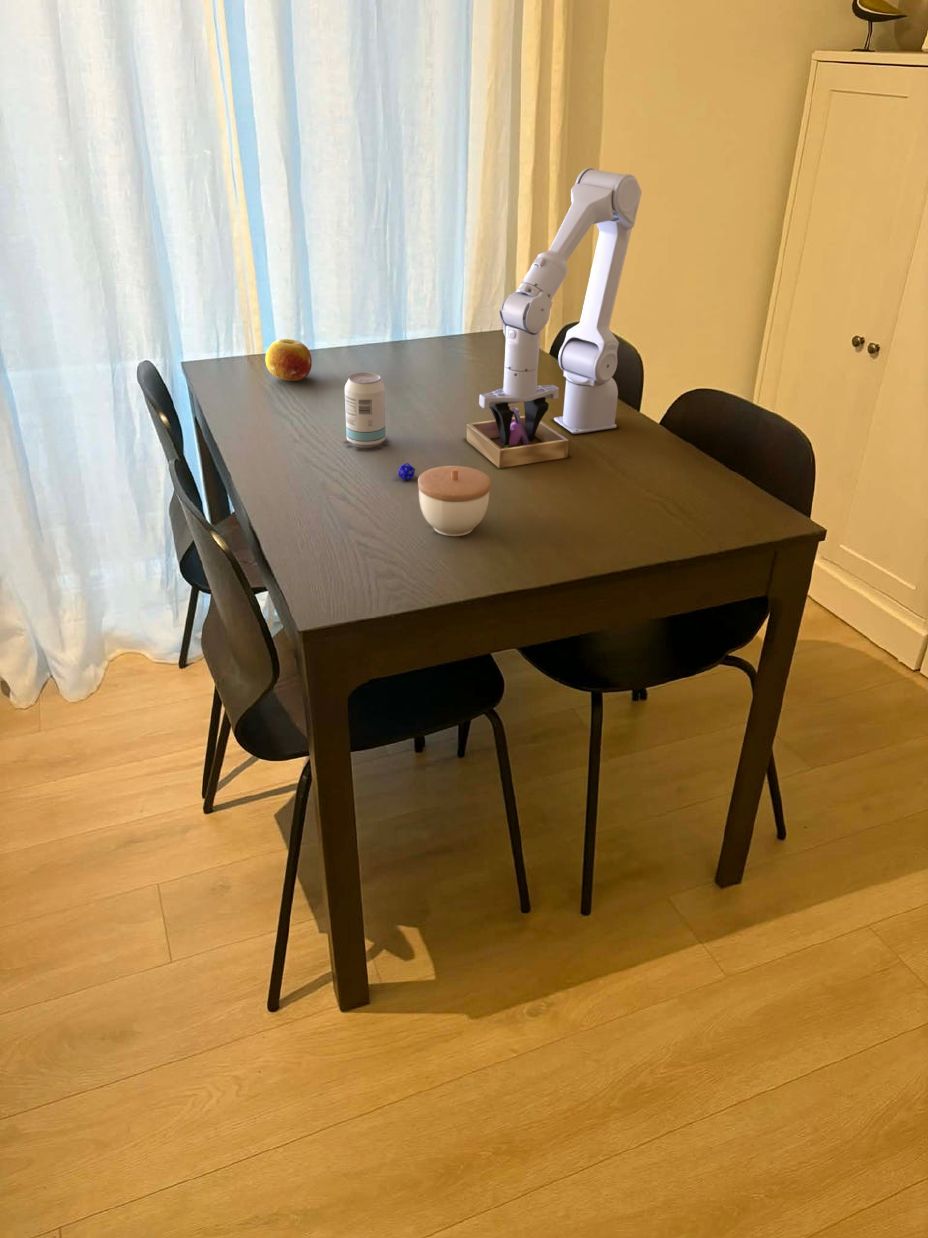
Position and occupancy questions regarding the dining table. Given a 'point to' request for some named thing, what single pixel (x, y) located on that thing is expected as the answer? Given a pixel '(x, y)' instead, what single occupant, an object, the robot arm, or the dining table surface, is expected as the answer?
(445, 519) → the trinket box
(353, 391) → the beverage can
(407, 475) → the die
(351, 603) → the dining table surface
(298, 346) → the fruit
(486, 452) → the birch box
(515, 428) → the purple monster figurine
